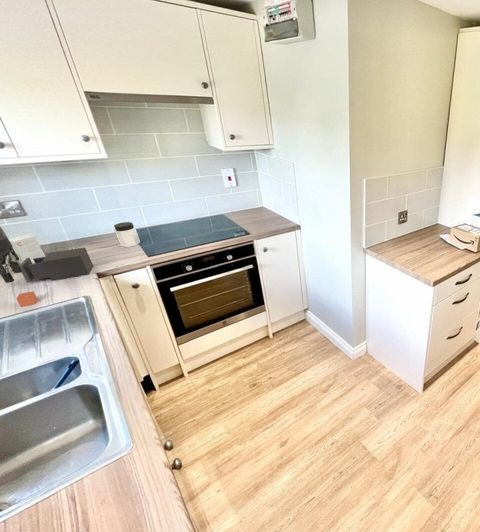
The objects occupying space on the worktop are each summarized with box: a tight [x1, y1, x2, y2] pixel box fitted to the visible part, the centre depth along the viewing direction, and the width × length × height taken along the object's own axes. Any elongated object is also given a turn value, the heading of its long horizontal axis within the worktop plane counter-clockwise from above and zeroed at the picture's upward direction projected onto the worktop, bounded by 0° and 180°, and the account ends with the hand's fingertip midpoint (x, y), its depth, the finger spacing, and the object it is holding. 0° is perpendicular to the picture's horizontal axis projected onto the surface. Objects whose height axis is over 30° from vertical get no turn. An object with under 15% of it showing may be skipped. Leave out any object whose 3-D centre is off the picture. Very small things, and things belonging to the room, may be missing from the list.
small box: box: [8, 233, 47, 265], centre depth 158 cm, size 8×6×13 cm
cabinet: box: [42, 247, 94, 282], centre depth 150 cm, size 13×11×10 cm
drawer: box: [9, 257, 51, 284], centre depth 145 cm, size 17×10×8 cm, turn 122°
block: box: [15, 290, 39, 307], centre depth 129 cm, size 4×4×4 cm
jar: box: [113, 221, 141, 248], centre depth 180 cm, size 9×8×12 cm
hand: (14, 277), depth 124 cm, fingers open, 8 cm apart
